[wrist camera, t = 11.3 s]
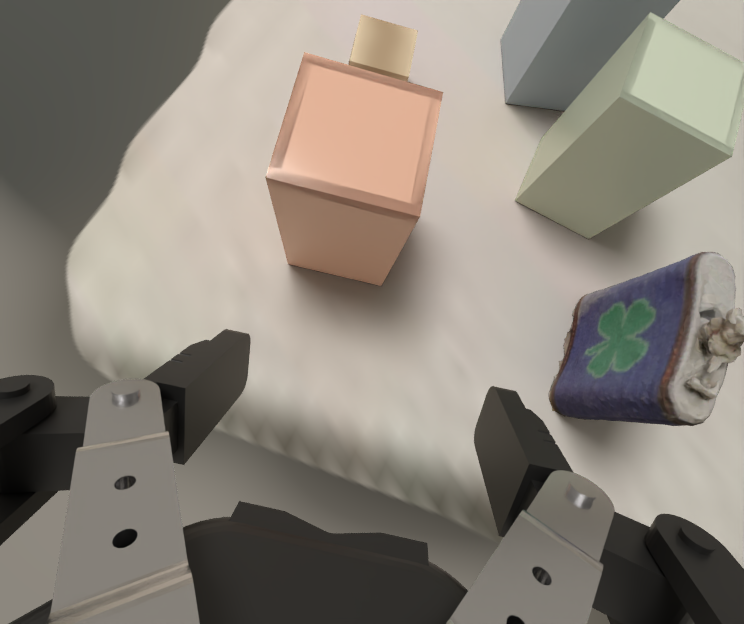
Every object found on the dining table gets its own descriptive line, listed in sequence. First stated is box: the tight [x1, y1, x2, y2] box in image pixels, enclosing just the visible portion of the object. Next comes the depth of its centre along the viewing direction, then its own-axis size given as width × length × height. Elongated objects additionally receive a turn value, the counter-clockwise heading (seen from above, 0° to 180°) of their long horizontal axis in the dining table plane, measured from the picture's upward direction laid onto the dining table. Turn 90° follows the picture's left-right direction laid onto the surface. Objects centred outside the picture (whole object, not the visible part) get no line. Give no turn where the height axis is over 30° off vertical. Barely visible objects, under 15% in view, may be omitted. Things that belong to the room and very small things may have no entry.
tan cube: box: [349, 15, 418, 82], centre depth 26 cm, size 4×4×4 cm
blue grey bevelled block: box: [501, 0, 680, 111], centre depth 26 cm, size 6×6×10 cm
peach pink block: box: [266, 52, 443, 286], centre depth 20 cm, size 6×6×10 cm
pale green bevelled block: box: [515, 12, 744, 239], centre depth 24 cm, size 6×6×10 cm
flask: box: [549, 252, 744, 426], centre depth 20 cm, size 9×3×11 cm, turn 155°
